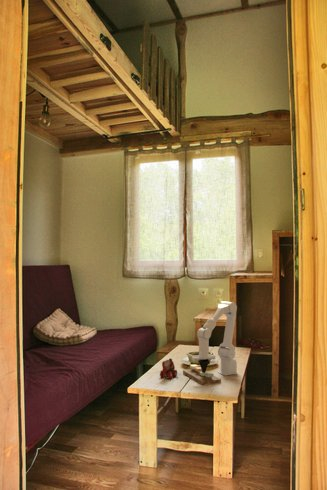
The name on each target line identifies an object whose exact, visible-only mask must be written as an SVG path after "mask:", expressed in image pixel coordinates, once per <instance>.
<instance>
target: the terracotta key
mask: <svg viewBox="0 0 327 490" xmlns="http://www.w3.org/2000/svg"><path fill="white" fill-rule="evenodd" d="M195 371H196V374H199V372H202V369H201V366H199V367H195Z"/></svg>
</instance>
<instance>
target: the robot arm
mask: <svg viewBox="0 0 327 490" xmlns="http://www.w3.org/2000/svg"><path fill="white" fill-rule="evenodd" d="M237 311H238V306H237V305H236V303H235V301H234V302H233V301H225V300H222V301H220V302H219V303H218V304H217V309H216V311H215V313H213V316H212V317H211V318H208V319H207V320H206V322H205V323H204V324H203V326H202V327H200V328H199V329H198V330H197V332H196V336H197V339H198V355H197V356H192V357H191V361H192V362H197V361H198V364H199V365H200V366H199V367H201V369H202V372H203V373H206V371H207V369H208V366H209V363H210V360H216V355H213V354H211V355H209V352H210V351H209V350H210V349H209V347H210V345H209V343H210V342H209V340H210V338H211V336H212V333H213V330H214V329H215V327H216V326H217V321H218V320H219V319H221V317H222V316H223V315H225V316H226V320H225V326H224V327H225V328H224V335H223V341H222V343H220V344H219V347H218V349H217V356H218V357H219V359H220V370H218V371H217V372H218V373H219V374H221V375H223V376H229V375H230V376H231V375H238V373H237V367H238V366H237V365H238V364H237V359H235V357H236V351H235V350H236V347H235V346H234V344H233V339H234V338H233V337H234V332H235V324H236V318H237Z"/></svg>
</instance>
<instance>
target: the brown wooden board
mask: <svg viewBox="0 0 327 490" xmlns="http://www.w3.org/2000/svg"><path fill="white" fill-rule="evenodd" d="M206 372H208V371H207V370H206ZM182 374H183V375H184V376H186V375H187V376H186V377H188V378H190V379H192V380H193V381H195V382H197V383H198V384H200V385H201V386H206V385H213V384H221V383H222V379H221V378H220V377H218V376H216V375H214V374H213V377H212V379H211V380H207V379H206V377H202V376H201V375H199V374H196V371H194V372H193V371H192V368H190V369H183V370H182Z"/></svg>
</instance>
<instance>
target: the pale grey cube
mask: <svg viewBox="0 0 327 490" xmlns="http://www.w3.org/2000/svg"><path fill="white" fill-rule="evenodd" d="M213 375H214V373H212V372H211V371H207V372H206V373H204V376H206V379H207V380H211V379H212V377H213Z"/></svg>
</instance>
